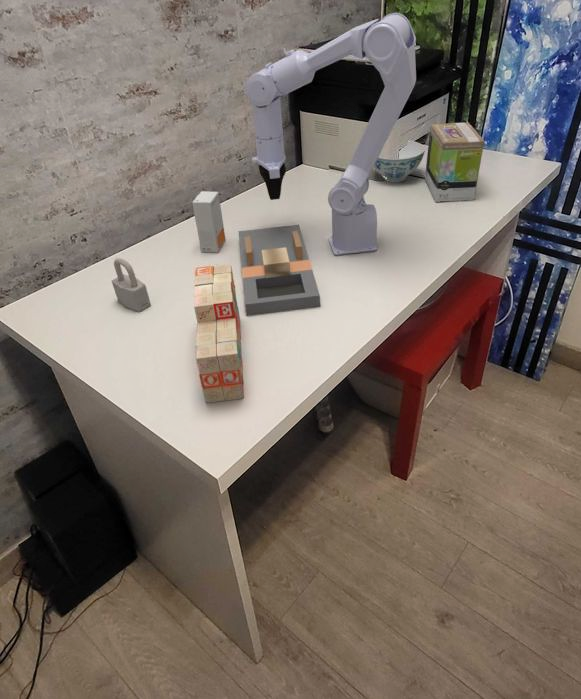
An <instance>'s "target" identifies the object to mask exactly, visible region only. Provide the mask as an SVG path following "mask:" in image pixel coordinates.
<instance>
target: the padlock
mask: <svg viewBox="0 0 581 699" xmlns="http://www.w3.org/2000/svg"><path fill="white" fill-rule="evenodd" d="M113 266H114V269H115V273H116V276H117V277H116V278H113V279H112V280H111V284H112V287H113V289H114V292H115V295H116V298H117V301H118V302H119V303H120V304H122V305H123V306H124V307H125V308H127V309H130V310H133V311H136V312H140V313H141V312H142V311H144V310H145V309H147V308H148V307H150V306H151V303H152V302H151V300H150V297H149V294H148V290H147V286H146V284H145V283H143V282H142V281H141V280H140V279H138V278H137V277H136V274H135V272H134V269H133V267H132V266H131V264H130V263H129V262H128V261H127V260H125V259H124V258H120V257H118V258H117V257H116V258H115V259H114V261H113ZM121 266H122V267H124V269H125V270H126V272H127V274H128V275H127V274H124V273H123V271H122V267H121Z"/></svg>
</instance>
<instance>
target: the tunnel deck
mask: <svg viewBox="0 0 581 699" xmlns="http://www.w3.org/2000/svg"><path fill="white" fill-rule="evenodd" d="M238 242H239V250H240V251H239V254H240V263H241V273H242V276H241V277H242V286H243V296H244V307H245V313H246V314H245V315H246V316H254V315H262V314H263V315H264V314H270V313H277V312H286V311H287V312H288V311H295V310H302V309H303V310H304V309H311V308H318V307H321V298H320V297H321V295H320V292H319V288H318V284H317V282H316V278H315V274H314V270H313V267H312V265H311V262H310V258H309V254H308V250H307V247H306V243H305V240H304V238H303V234H302V230H301V227H300V224H291V225H281V226H272V227H266V228H256V229H246V230H240V231H238ZM284 247H286V249H287V254H288V258H289V263H290V275H288V276H280V277H271V278H265V272H264V266H263V258H262V250H267V249H276V248H284Z"/></svg>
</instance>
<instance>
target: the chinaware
mask: <svg viewBox="0 0 581 699" xmlns="http://www.w3.org/2000/svg"><path fill="white" fill-rule="evenodd" d="M425 152H426V147H425V146H424V145H423V144H422V143H420V142H419V141H418V142H417V141H413V140H410V139H408V143H407V146H405V147H404V148H402V149H401V150H400V151H399V159H387V158H381V157H378V159H377V161H376V163H375V165H374V168H375V169H376V170H377V171H378V172H379V173H380V174H382V175H383V176H385V177H387V180H388V181H387V182H390V181H391V182H392V183H397V182H402V181H404V180H407V178H408V176H409V175H410V174H412V173H413V172H414V171H415V170H416V169H418V167H419V166H420V164H421V162H422V161H423V158H424V155H425ZM374 168H373V169H374ZM375 169H374V170H375ZM376 170H375V171H376ZM377 171H376V172H377ZM378 172H377V173H378ZM379 173H378V174H379ZM380 174H379V175H380ZM382 175H381V176H382Z"/></svg>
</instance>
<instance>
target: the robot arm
mask: <svg viewBox="0 0 581 699" xmlns="http://www.w3.org/2000/svg"><path fill="white" fill-rule="evenodd" d="M416 42H417V37H416V35H415V32H414V29H413V27H412V25H411V22H410V20H409V19H408V18H407V17H406V16H405V15H404V14H403V13H402V14H401V13H399V12H392V13H388V14H386V15H385V16H384V17H383V18H382V19H380V21H379V18H376V19H374V20H370V21H368V22H365V23H362V24H360V25H358V26H355V27H353V28H351V29H350V30H348V31H346V32H344V33H343V34H341V35H339V36H337V37H336V38H334V39H331V41H329V42H327V43H325V44H323V45H322V46H320V47H318V48H316V49H314V50H313V51H311V52H310V53H309V52H307V51H304V50H301V49H298V50H296V51H295V49H291V50H288V51H287V52H285V56H284V57H283V58H281V59H279V60H277V61H276V62H274V63H273V62H268V63H267V64H265V65H264V67H265V68H263V69H260V70H259V71H257V72H255V73H253V74H252V75H251V76H250V77H249V78H248V79H247V80H246V82H245V88H244V90H245V91H244V92H245V95H246V98H247V99H248V101H249V102H250V104H251V107H252V109H251V110H252V117H253V119H252V120H253V127H254V135H255V145H256V146H255V147H256V156H253V157H252V158H251V160H252V163H253V164H259V165H258V171H259V174H260V176H261V178H262V179H263V181H264V183H265V186H266V190H267V194H268V197H269V199H270V200H271V201H274V200H280V199H281V198H280V197H281V194H282V184H283V180H284V177H285V175H286V173H287V168H286V164H285V162H286V160H287V158H286V153H285V143H284V128H283V118H282V117H283V116H282V104H281V97H282V96H286V95H288V94H290V93H291V92H293V91H296V90H298V89H300V88H302V87H303V86H306V85H308V84H310V83H312V81H313V79H314V77H315V73H316V72H317V71H318V70H321V69H323V68H325V67H327V66H329V65H331V64H334V63H336V62H338V61H340V60H342V59H344V58H347V57H348V56H352V57H353V56H354V57H355V58H358V59H360V60H363V59H364V58H365V57H367V60H368V61H369V62H370V63H371V64H372V65H373V66H374V68H375V69H376V70H377V71H378V72H379V75H380V77H381V80H382V81H383V85H384V88H383V90H382V92H381V94H380V96H379V98H378V101H377V104H376V105H375V108H374V110H373V112H372V114H371V116H370V119H369V120H368V123H367V124H366V127H365V128H364V131H363V133H362V135H361V138H360V140H359V142H358V144H357V146H356V147H355V151H354V153H353V155H352V156H351V159H350V161H349V163H348V165H347V166H346V169H345V170H344V172H343V173H342V175H341V177H340V179H339V180H338V181H337V183H335V185H334V186H333V187H332V188H331V189H330V190H329V192H328V195H327V201H328V204H329V207H330V208H331V228H332V229H331V234H332V235H331V236H329V237H328V244H329V245H330V248H331V250H332V253H333V255H334V256H340V255H348V254H349V255H350V254H360V253H367V252H375V251H377V250H378V247H377V241H378V240H377V238H378V237H377V236H378V235H377V234H378V217H377V216H378V215H377V214H378V213H377V210H376V209H377V208H376V206H375V205H374V204H368V203H366V200H365V198H364V197H365V195H366V193H367V192H368V190H369V187H370V182H369V181H370V176H371V174H372V172H373V169H374V168H373V167H374V165H375V163H376V161H377V159H378V157H379V155H380V153H381V151H382V149H383V147H384V145H385V143H386V141H387V140H388V139H389V137H390V136H391V133H392V131H393V129H394V127H395V125H396V124H397V121H398V119H399V117H400V115H401V113H402V111H403V109H404V108H405V105H406V103H407V101H408V100H409V98H410V95H411V93H412V92H413V90H414V87H415V85H416V82H417V70H416V66H417V65H416Z"/></svg>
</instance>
